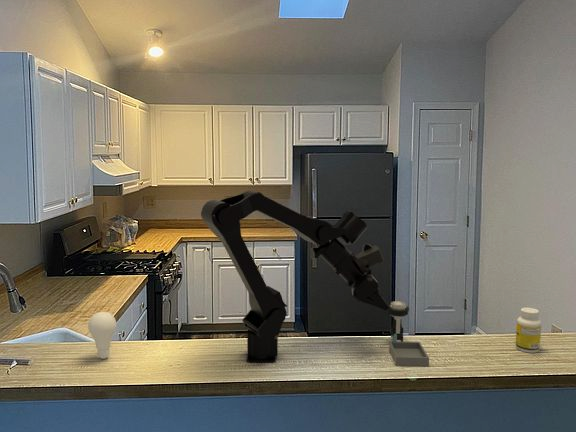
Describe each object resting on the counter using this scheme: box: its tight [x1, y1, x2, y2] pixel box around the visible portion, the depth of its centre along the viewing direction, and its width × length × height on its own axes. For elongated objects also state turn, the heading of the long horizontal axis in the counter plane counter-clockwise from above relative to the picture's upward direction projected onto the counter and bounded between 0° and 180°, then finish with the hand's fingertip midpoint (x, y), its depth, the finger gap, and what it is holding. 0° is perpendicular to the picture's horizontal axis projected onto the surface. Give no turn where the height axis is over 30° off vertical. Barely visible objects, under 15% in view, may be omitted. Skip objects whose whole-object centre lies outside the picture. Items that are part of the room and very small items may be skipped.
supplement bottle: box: [515, 307, 542, 354], centre depth 130 cm, size 5×5×10 cm
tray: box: [388, 341, 430, 367], centre depth 125 cm, size 7×9×2 cm
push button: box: [387, 300, 410, 342], centre depth 133 cm, size 7×5×10 cm
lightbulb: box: [87, 311, 117, 360], centre depth 123 cm, size 6×6×11 cm
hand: (384, 302), depth 133 cm, fingers open, 9 cm apart
